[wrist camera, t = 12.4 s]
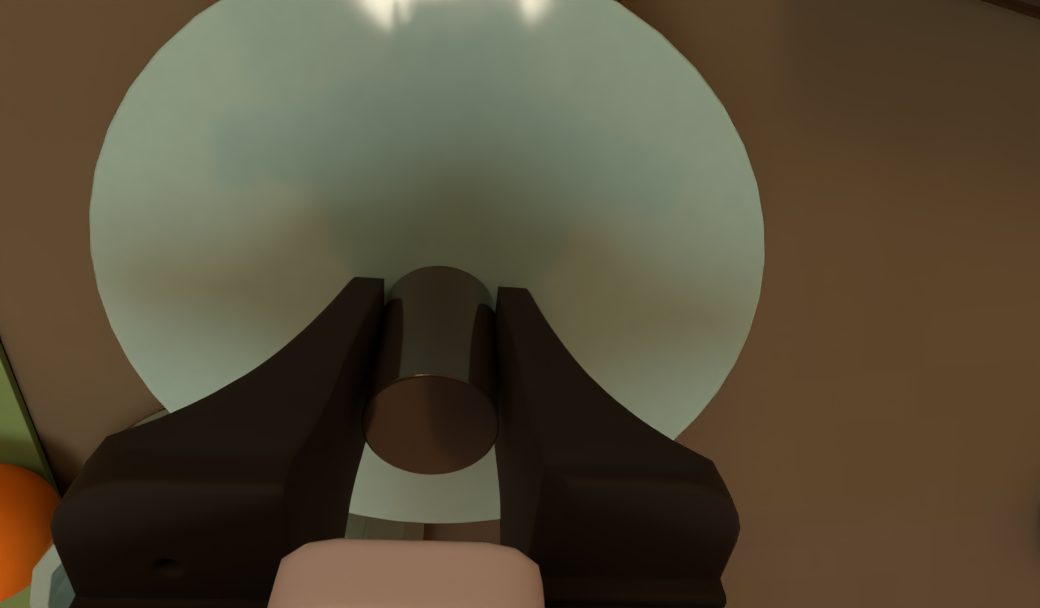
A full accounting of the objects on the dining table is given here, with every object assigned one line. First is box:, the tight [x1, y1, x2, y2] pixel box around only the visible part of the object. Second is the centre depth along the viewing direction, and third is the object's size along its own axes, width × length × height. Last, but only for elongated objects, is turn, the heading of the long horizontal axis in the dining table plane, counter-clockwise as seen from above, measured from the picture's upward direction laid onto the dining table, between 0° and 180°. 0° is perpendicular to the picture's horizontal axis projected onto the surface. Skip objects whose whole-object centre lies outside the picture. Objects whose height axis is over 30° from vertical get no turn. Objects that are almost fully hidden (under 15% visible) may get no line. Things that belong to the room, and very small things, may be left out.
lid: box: [89, 0, 765, 523], centre depth 14 cm, size 14×14×5 cm
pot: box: [29, 409, 425, 608], centre depth 26 cm, size 13×13×5 cm
